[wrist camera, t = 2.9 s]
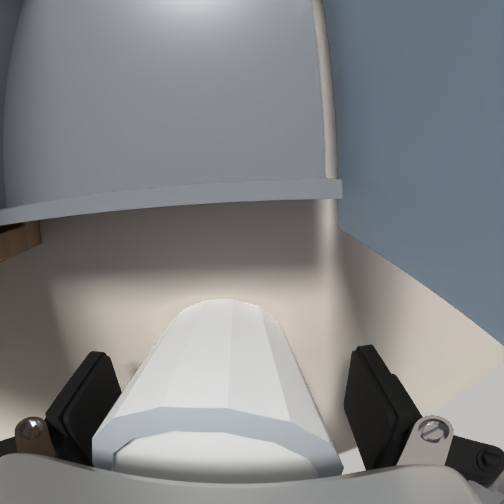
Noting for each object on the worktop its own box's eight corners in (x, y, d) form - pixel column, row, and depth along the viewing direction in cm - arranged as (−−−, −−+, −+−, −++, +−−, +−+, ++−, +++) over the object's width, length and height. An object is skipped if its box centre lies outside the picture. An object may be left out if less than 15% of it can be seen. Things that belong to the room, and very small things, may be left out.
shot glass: (191, 251, 12) (129, 353, 5) (334, 331, 13) (396, 453, 6) (128, 370, 13) (74, 484, 6) (251, 427, 14) (256, 543, 7)
